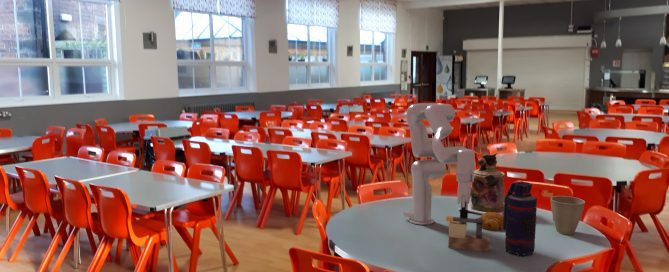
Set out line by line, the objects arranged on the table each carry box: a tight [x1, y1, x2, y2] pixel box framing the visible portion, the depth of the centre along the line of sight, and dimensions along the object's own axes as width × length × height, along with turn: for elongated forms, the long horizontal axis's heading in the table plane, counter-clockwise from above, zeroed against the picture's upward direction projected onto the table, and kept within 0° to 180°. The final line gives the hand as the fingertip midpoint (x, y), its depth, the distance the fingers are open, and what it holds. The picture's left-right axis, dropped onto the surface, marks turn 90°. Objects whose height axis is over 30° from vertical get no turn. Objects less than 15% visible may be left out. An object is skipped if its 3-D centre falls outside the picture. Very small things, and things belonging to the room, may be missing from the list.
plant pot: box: [550, 195, 586, 236], centre depth 249 cm, size 15×15×16 cm
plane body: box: [448, 223, 491, 253], centre depth 228 cm, size 17×5×11 cm, turn 71°
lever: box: [445, 215, 483, 224], centre depth 228 cm, size 16×3×2 cm, turn 71°
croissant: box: [478, 212, 505, 231], centre depth 260 cm, size 14×16×8 cm
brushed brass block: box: [448, 221, 468, 238], centre depth 230 cm, size 7×6×6 cm
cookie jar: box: [458, 152, 506, 215], centre depth 288 cm, size 25×25×32 cm
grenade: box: [503, 180, 538, 257], centre depth 223 cm, size 14×12×30 cm
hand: (463, 218), depth 233 cm, fingers closed
